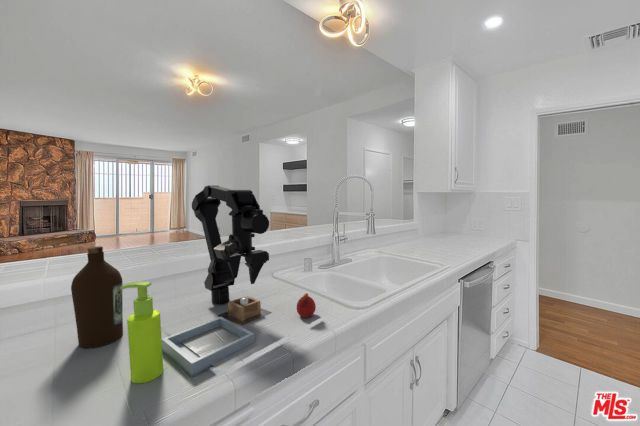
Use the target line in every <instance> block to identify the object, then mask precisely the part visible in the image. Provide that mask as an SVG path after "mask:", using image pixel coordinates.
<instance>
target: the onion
mask: <svg viewBox="0 0 640 426" xmlns="http://www.w3.org/2000/svg"><path fill="white" fill-rule="evenodd" d="M296 312H297V314H298V315H299V316H300V317H301V318H304V319H306V318H307V319H308V318H311V317H312V315H314V314H315V312H316V302H315V301H314V299H313V297H311V296H309V293H308V292H305V293H304V294H303V296H301V297H300V298H299V300H298V301H297V303H296Z"/></svg>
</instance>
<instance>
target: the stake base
mask: <svg viewBox="0 0 640 426" xmlns="http://www.w3.org/2000/svg"><path fill="white" fill-rule="evenodd" d="M246 304H248V297H245V296H243V297H240V305H241V306H243V305H246ZM270 314H273V312H271V311H269V310H267V309H264V308H262V307H261V313H260V314H258V315H255V316H253V317H250V318H248V319H246V320H243V321H240V320H238V319H236V318H234V317H232V316H230V315H229V314H228V311H225V312H222V313H219V314H216V316H217V317H218V318H219V317H223V318H225V319H227V320H229V321H231V322H233V323H235V324H237V325H239V326H241V327H243V326H245V325H248V324H249V323H252V322H255V321H257V320H259V319H261V318H263V317H266V316H268V315H270Z"/></svg>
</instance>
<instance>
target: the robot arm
mask: <svg viewBox="0 0 640 426" xmlns="http://www.w3.org/2000/svg"><path fill="white" fill-rule="evenodd" d="M253 192H254V191H252V190H251V189H230V188H227V187H222V186H220V185H208V184H207V185H206V186H204V188H203V190H201V191H199V192H198V193H197V194H195V195H194V198H192V202H191V209H192V211H193V213H194V216H195V218H196V219H198V220H199V221H200V223H201V225H202V230H203V233H204V236H205V237H204V238H205V242H206V245H207V250H208V254H209V259H210V263H209V266H208V267H207V276H206V277H205V280H204V281H203V283H204V288H205V289H206V290H208V291H210V293H211V294H210V295H211V297H210V298H211V304H213V305H220V306H223V305H226V304H227V305H228V302H230V288H229V287H231V286H234V285H235V280H236V279H237V278H238V274H239V270H240V264H241V260H242V257H243V258H244V260H245V263H244V265H245V266H246V267H247V268H248V275H249V281H250V285H254V284H255V283H256V281H257V279H258V276H259V274H260V272H261V270H262V269H263V268H262V267H263V266H264V265H265V264H266V263H267V262H268V261H270V253H269V252H268V251H267V250H263V249H257V250H256V247H255V246H253V238H255V237H256V235H255V234H258V235H262V234H264V233H266V232H267V231H268V229H269V228H270V220H269V218H268V216H267V215H266V214H264V210H263V209H261V208H260V204H259V203H258V201H257V199H256V197H255V194H253ZM222 202H224V203H225V205H226V206H227V207H228V208H230V209H231V210H230V212H229V213H228V216H230V217H231V230H232V232H231V234H229V235H228V240H225V241H223V242H222V239H221V234H220V230H219V226H218V223H217V219H216V218H217V217H218V214H219V207H220V205H221V204H222Z"/></svg>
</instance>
